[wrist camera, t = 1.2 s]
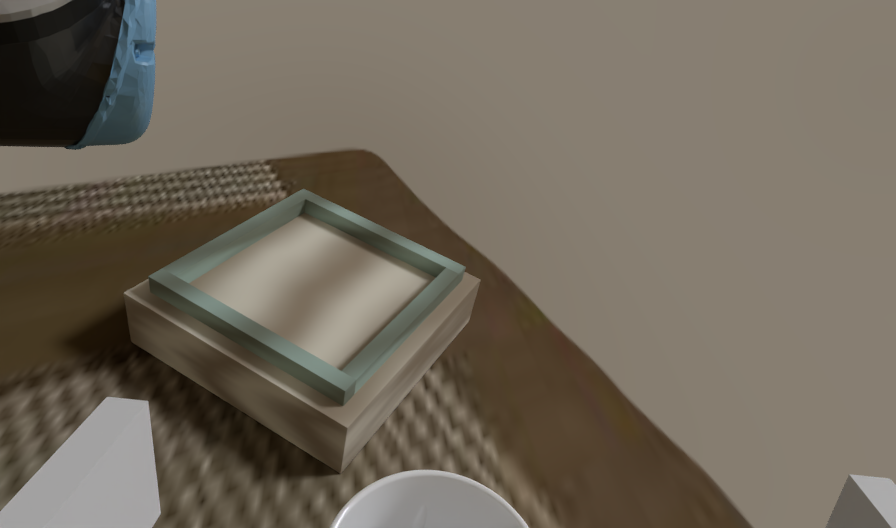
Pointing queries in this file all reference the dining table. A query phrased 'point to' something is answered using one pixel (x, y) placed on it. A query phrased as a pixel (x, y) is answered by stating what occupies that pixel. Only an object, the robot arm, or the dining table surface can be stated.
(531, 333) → the dining table surface
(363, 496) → the white cup
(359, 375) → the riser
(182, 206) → the dining table surface
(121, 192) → the dining table surface
